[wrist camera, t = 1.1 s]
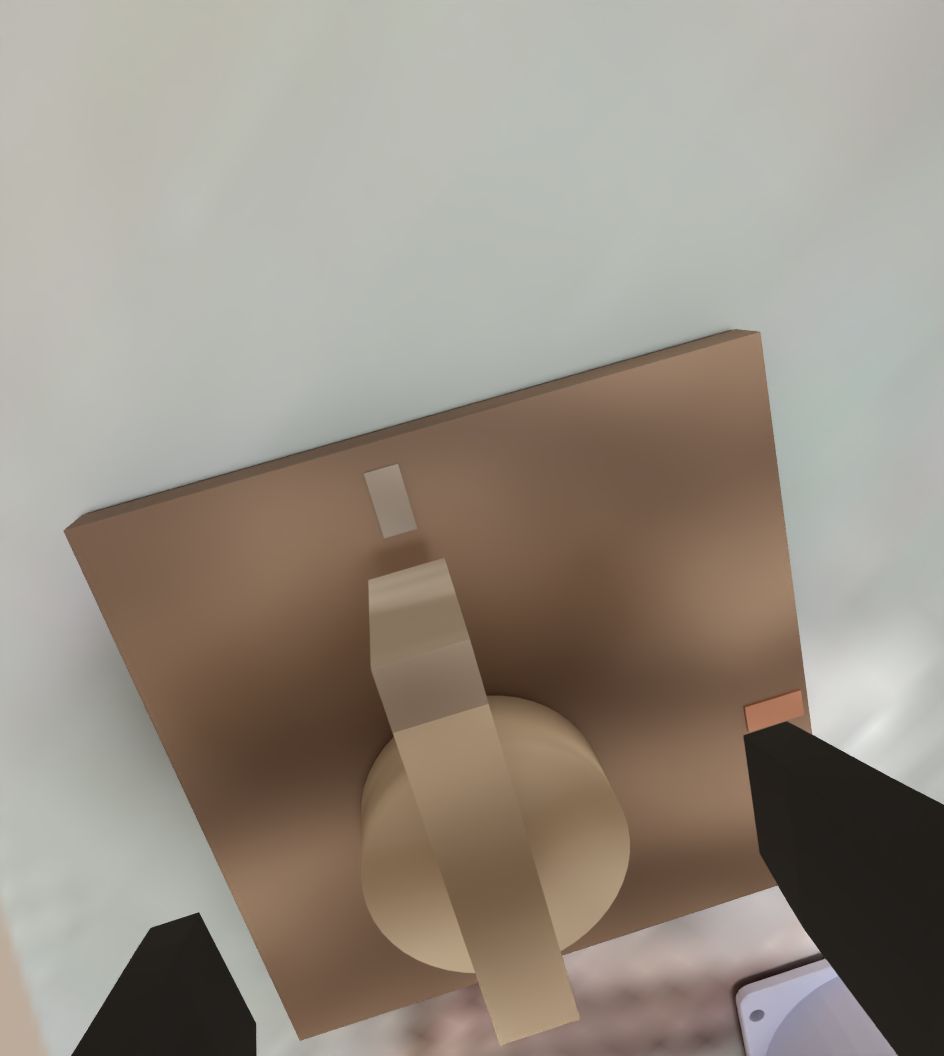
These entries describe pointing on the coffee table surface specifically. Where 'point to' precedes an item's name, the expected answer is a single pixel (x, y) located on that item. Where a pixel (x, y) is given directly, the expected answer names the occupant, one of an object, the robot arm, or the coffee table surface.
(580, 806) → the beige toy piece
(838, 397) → the coffee table surface
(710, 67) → the coffee table surface
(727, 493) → the plate
